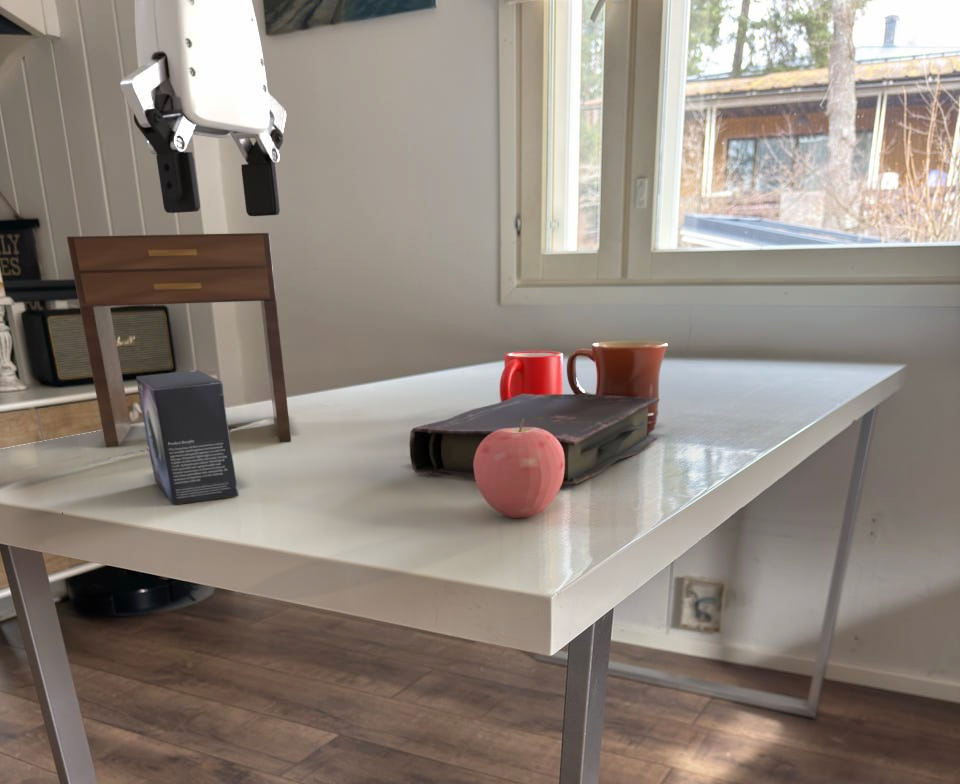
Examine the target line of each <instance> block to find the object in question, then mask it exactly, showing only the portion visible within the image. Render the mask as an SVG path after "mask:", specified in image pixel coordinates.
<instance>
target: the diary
mask: <svg viewBox="0 0 960 784" xmlns="http://www.w3.org/2000/svg"><path fill="white" fill-rule="evenodd" d="M591 394H592V393H591ZM591 394H574V393H573V394H571V393H569V394H568V393H562V394H551V395H533V394H521V395H518V396H515V397H513V398H510V399H508V400H505V401H502V402H501V401H500V402H497V403H494V404H493V403H492V404H490V405H486V406H481V407H478V408H477V407H476V408H472V409H470V410H467V411H465V412H462V413H460V414H457V415H454V416H452V417H449V418H447V419H443V420H439V421H435V422H431V423H427V424H423V425H419V426H415V427H413V428H412V429H411V430H410V435H409V457H410V458H409V459H410V463H411V467H412V470H413V472H414V473H415V474H422V475H423V474H424V475H434V476H444V477H445V476H446V477H456V478H465V479H475V474H474V467H473V463H474V457H475V454H476V450H477V448H478V446H479V445H480V443H481V442H482V441H483V440H484V438H486V437H487V436H488V435H489V434H491V433H493V432H494V431H497V430H500V429H505V428H520V425H521V422H522V420H523V418H524V419H525V420H524V423H523V427H534V428H540V429H543V430H546V431H547V432H549V433H551V434H552V435H553V436H554V437H555V438H556V439H557V440H558V441H559V443H560V444H561V446H562V448H563V451H564V458H565V469H564V478H563V482H562V485H561V486H571V485H577V484H579V483H581V482H583V481H585V480H588V479H590V478H593V477H595V476H597V475H599V474H600V473H602V472H603V471H605V470H606V469H607V468H609V467H610V466H611V465H613V464H614V463H616V462H617V461H619V460H622V459H625V458H628V457H631V456H635V455H638V454H639V453H641V452H642V451H644V450H645V449H646V448H647V447H649V446H650V445H652V444H653V443H655V442H656V441H657V440H658V437H657V436H648V434H647V420H648V406H650V405H652V404H654V403H656V402H660V397H659V398H643V397H628V396H611V395H591Z"/></svg>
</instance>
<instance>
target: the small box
mask: <svg viewBox="0 0 960 784" xmlns="http://www.w3.org/2000/svg"><path fill="white" fill-rule="evenodd" d="M135 379H136V385H137V391H138V397H139V402H140V408H141V414H142V419H143V425H144V430H145V437H146V441H147V447H148V451H149V457H150V462H151V463H150V464H151V468H152V472H153V476H154V481H155V483H156V484H157V485H158V487H159V488H160V489H161V491H162V492H163V493H164V496H166V498H167V499H168V500H169V501H170V503H171V504H172V505H173V506H175V505H176V506H177V505H181V504H189V503H197V502H204V501H205V502H206V501H213V500H218V499H226V498H235V497H238V496H240V492H239V486H238V480H237V475H236V470H235V464H234V458H233V451H232V444H231V438H230V432H229V431H230V430H229V425H228V418H227V411H226V404H225V403H226V402H225V394H224V393H225V392H224V384H223V382H222V381H221V380H219V379H217V378H215V377H213V376H212V375H209V374H207V373H205V372H203V371H201V370H199V369H196V370H187V371H177V372H176V371H175V372H168V373H158V374H148V375H137V376H136V377H135Z"/></svg>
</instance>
